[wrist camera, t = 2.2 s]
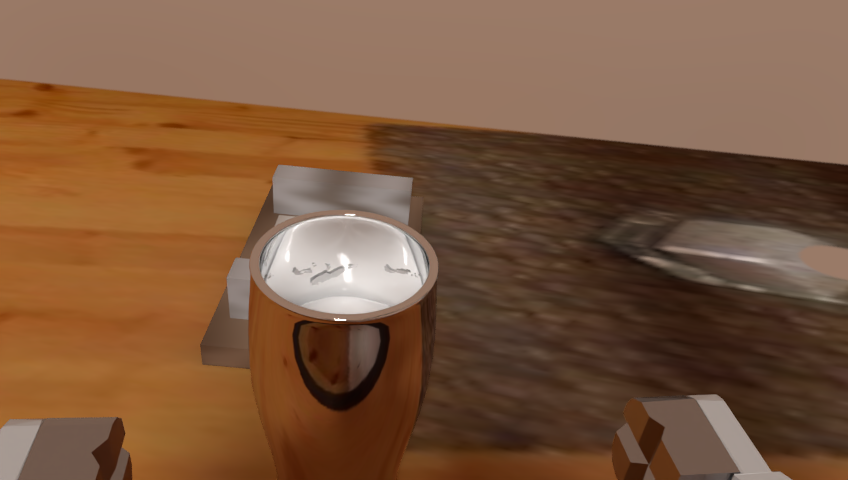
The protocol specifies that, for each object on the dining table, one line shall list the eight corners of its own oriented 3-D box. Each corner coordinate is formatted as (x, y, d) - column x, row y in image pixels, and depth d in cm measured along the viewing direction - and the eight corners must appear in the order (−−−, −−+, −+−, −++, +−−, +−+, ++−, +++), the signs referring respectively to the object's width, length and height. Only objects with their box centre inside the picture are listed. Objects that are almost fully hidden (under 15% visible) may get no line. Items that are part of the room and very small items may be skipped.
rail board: (421, 213, 55) (426, 164, 53) (409, 383, 40) (416, 324, 37) (274, 198, 55) (272, 148, 53) (202, 364, 39) (195, 303, 37)
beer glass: (232, 503, 32) (206, 240, 24) (354, 434, 36) (367, 189, 28) (313, 623, 28) (314, 355, 20) (439, 531, 32) (486, 275, 24)
